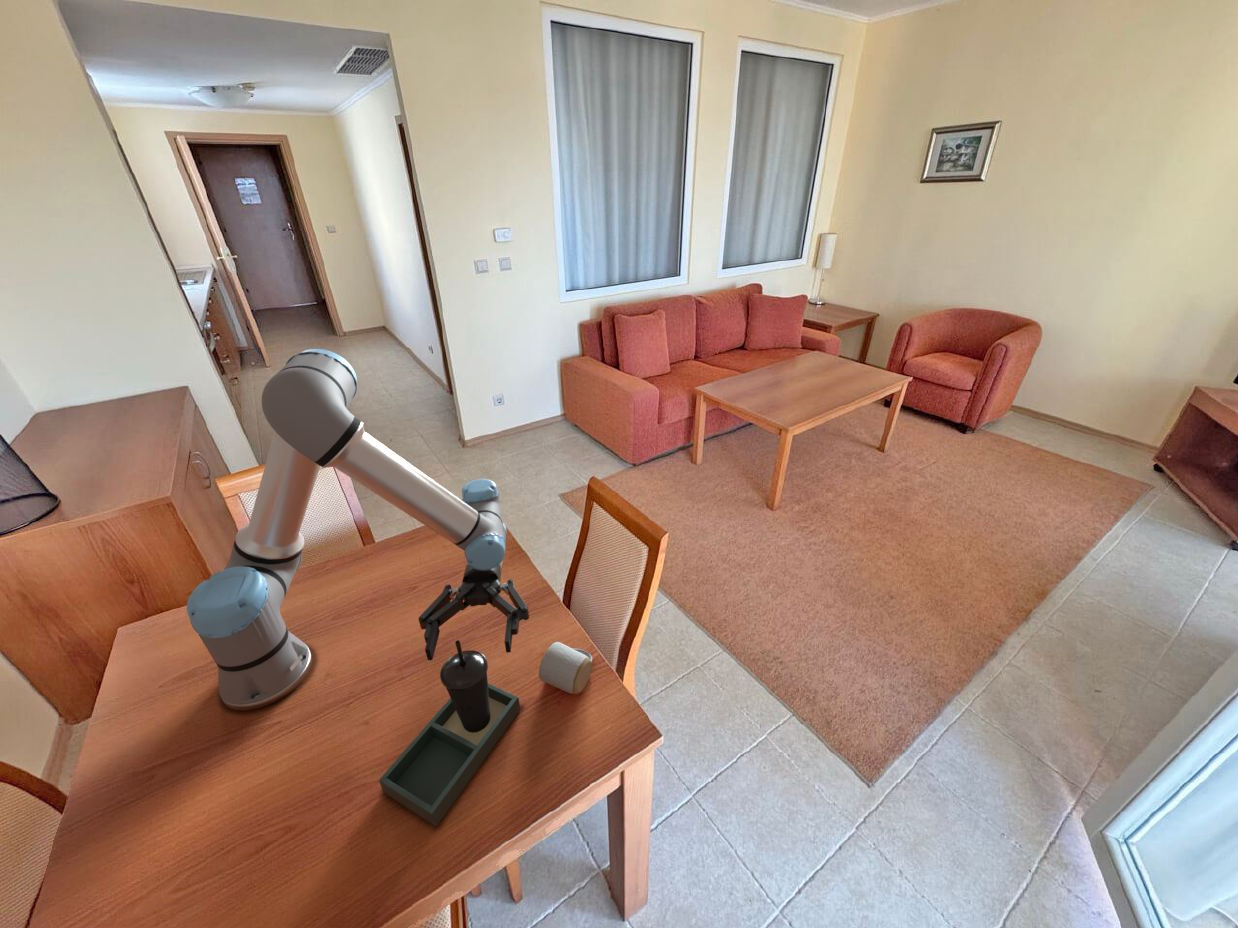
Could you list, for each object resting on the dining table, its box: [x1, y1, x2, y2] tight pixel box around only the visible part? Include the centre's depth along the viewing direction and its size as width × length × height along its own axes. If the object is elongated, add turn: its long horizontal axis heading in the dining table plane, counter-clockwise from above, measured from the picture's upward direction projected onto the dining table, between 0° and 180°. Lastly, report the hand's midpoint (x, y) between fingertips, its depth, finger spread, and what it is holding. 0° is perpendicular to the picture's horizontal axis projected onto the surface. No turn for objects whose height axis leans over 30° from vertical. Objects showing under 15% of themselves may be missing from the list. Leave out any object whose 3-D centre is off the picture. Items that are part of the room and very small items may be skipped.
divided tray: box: [378, 682, 521, 827], centre depth 84 cm, size 11×21×4 cm, turn 154°
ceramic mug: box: [538, 641, 593, 695], centre depth 96 cm, size 11×8×8 cm
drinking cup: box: [439, 640, 490, 733], centre depth 84 cm, size 8×8×20 cm
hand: (468, 651), depth 87 cm, fingers open, 13 cm apart
